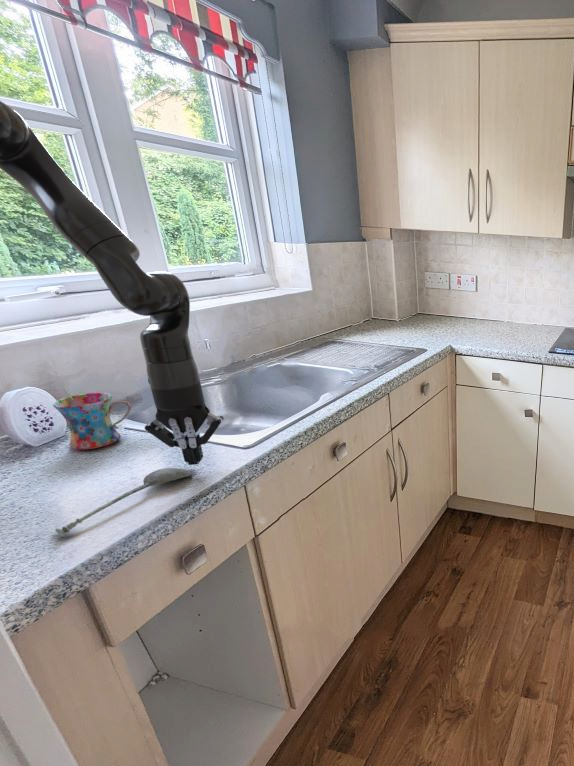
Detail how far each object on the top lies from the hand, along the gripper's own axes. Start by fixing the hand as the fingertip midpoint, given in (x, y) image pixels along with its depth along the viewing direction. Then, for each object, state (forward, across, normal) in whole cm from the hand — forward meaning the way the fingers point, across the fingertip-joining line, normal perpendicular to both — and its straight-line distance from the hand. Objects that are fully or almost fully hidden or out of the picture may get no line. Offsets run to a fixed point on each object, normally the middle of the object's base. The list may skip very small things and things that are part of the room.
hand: (194, 462), depth 91 cm
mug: (+2, +24, -20) cm, 31 cm away
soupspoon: (+2, +8, +9) cm, 12 cm away
